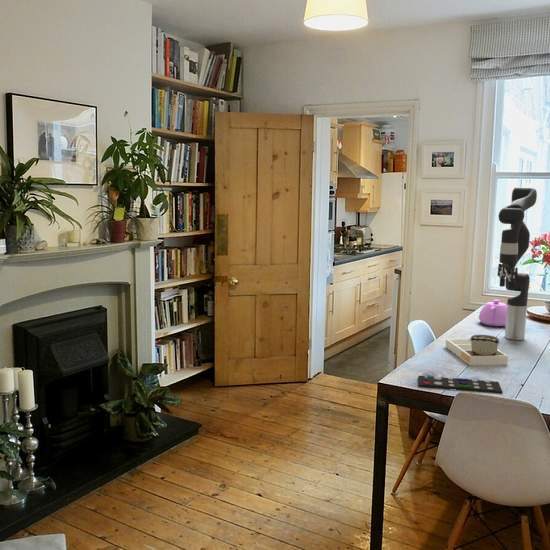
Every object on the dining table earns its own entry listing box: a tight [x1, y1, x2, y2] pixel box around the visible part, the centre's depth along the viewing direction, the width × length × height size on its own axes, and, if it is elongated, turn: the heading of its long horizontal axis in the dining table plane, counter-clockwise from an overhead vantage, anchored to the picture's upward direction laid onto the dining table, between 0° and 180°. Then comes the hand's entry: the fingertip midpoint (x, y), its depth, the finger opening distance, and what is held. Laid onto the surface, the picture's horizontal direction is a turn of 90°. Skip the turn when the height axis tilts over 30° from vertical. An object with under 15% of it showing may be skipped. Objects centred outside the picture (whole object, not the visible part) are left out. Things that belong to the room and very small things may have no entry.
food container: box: [469, 334, 501, 356], centre depth 263 cm, size 12×6×10 cm, turn 68°
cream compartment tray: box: [445, 338, 509, 366], centre depth 271 cm, size 29×17×4 cm, turn 5°
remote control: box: [417, 375, 504, 395], centre depth 231 cm, size 11×30×2 cm, turn 77°
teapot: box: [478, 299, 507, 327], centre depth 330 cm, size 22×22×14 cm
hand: (506, 288), depth 273 cm, fingers open, 8 cm apart
